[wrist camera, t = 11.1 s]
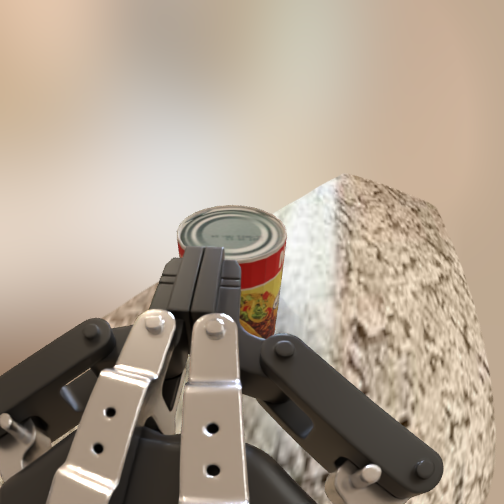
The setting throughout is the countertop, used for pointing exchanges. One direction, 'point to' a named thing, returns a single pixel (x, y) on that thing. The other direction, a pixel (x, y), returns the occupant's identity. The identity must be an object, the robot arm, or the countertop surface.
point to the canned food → (244, 256)
